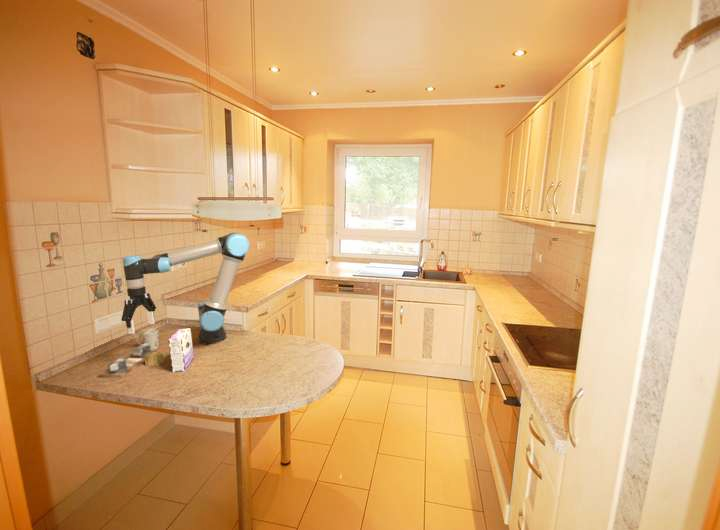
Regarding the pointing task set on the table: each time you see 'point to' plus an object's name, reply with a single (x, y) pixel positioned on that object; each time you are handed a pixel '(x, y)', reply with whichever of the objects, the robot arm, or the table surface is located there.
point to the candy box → (181, 350)
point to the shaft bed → (127, 362)
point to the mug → (150, 338)
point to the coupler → (154, 358)
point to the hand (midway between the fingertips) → (142, 328)
